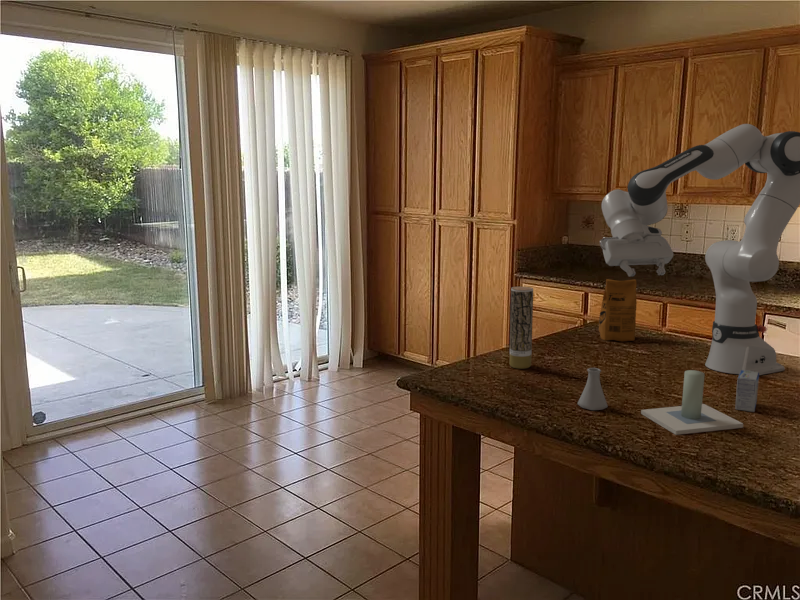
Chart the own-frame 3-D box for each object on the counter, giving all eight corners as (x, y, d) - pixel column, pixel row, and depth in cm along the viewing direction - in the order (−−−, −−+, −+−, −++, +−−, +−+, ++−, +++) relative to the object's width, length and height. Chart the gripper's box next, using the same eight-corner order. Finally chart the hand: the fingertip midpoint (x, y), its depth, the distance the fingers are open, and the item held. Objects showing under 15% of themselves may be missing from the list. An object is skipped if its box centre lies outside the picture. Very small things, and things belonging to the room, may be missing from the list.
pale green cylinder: (693, 411, 161) (696, 369, 159) (704, 418, 157) (708, 375, 155) (677, 413, 160) (680, 370, 158) (688, 420, 156) (692, 376, 154)
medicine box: (754, 412, 164) (757, 379, 162) (734, 409, 166) (737, 377, 164) (756, 403, 170) (759, 371, 168) (737, 400, 172) (740, 369, 171)
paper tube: (531, 370, 201) (533, 290, 196) (508, 368, 202) (510, 290, 198) (531, 363, 208) (533, 286, 203) (509, 362, 209) (511, 286, 204)
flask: (592, 413, 165) (594, 375, 163) (572, 404, 171) (573, 368, 169) (613, 408, 168) (615, 371, 166) (592, 399, 174) (594, 363, 172)
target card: (703, 407, 168) (703, 403, 167) (742, 427, 154) (743, 423, 154) (641, 413, 164) (641, 409, 163) (675, 434, 150) (676, 430, 150)
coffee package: (597, 334, 244) (599, 276, 240) (631, 335, 242) (635, 277, 238) (600, 341, 234) (603, 281, 230) (636, 342, 232) (640, 281, 228)
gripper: (602, 230, 186) (618, 269, 178) (665, 229, 190) (684, 266, 183) (593, 244, 191) (609, 282, 184) (655, 242, 196) (673, 279, 188)
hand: (647, 274), depth 183 cm, fingers open, 8 cm apart
